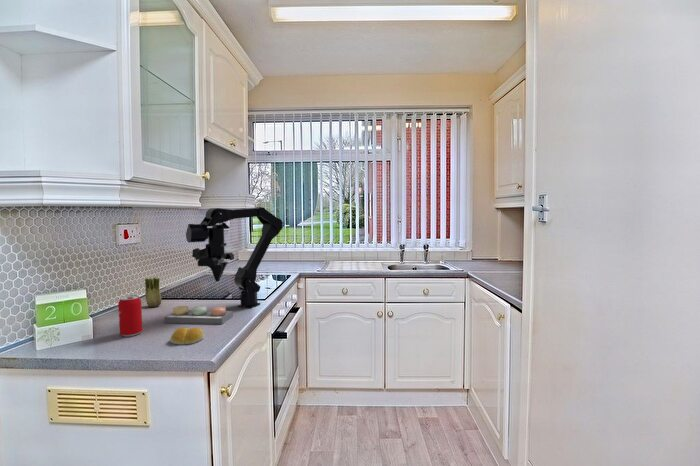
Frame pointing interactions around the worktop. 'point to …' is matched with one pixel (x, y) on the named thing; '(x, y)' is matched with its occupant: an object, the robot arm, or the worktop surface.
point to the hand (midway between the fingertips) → (217, 281)
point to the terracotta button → (218, 311)
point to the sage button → (199, 310)
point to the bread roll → (186, 336)
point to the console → (198, 318)
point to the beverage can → (130, 315)
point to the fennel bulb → (152, 292)
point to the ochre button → (180, 310)
